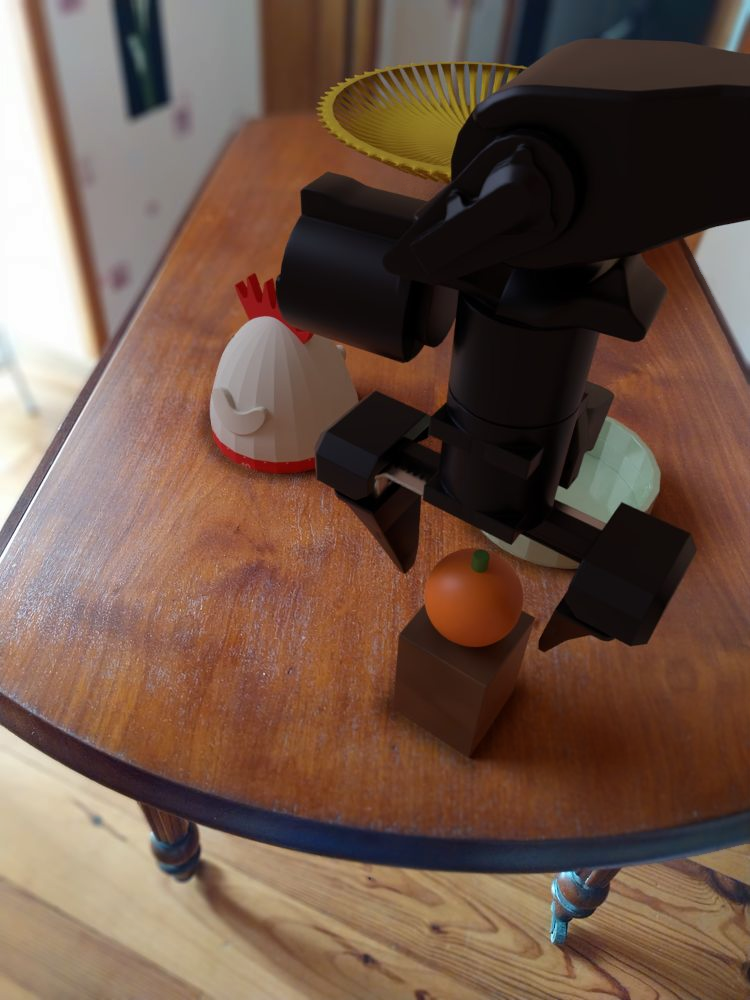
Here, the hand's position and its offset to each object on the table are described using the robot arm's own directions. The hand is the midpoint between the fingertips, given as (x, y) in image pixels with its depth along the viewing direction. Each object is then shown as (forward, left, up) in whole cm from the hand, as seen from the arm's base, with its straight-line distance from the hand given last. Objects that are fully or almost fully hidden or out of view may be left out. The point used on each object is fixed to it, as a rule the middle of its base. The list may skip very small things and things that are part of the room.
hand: (473, 605), depth 43 cm
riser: (0, 0, -11) cm, 11 cm away
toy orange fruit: (0, 0, -2) cm, 2 cm away
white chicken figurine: (+28, -15, -11) cm, 34 cm away
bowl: (+3, -21, -11) cm, 24 cm away
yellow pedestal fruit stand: (+35, -61, -11) cm, 72 cm away
